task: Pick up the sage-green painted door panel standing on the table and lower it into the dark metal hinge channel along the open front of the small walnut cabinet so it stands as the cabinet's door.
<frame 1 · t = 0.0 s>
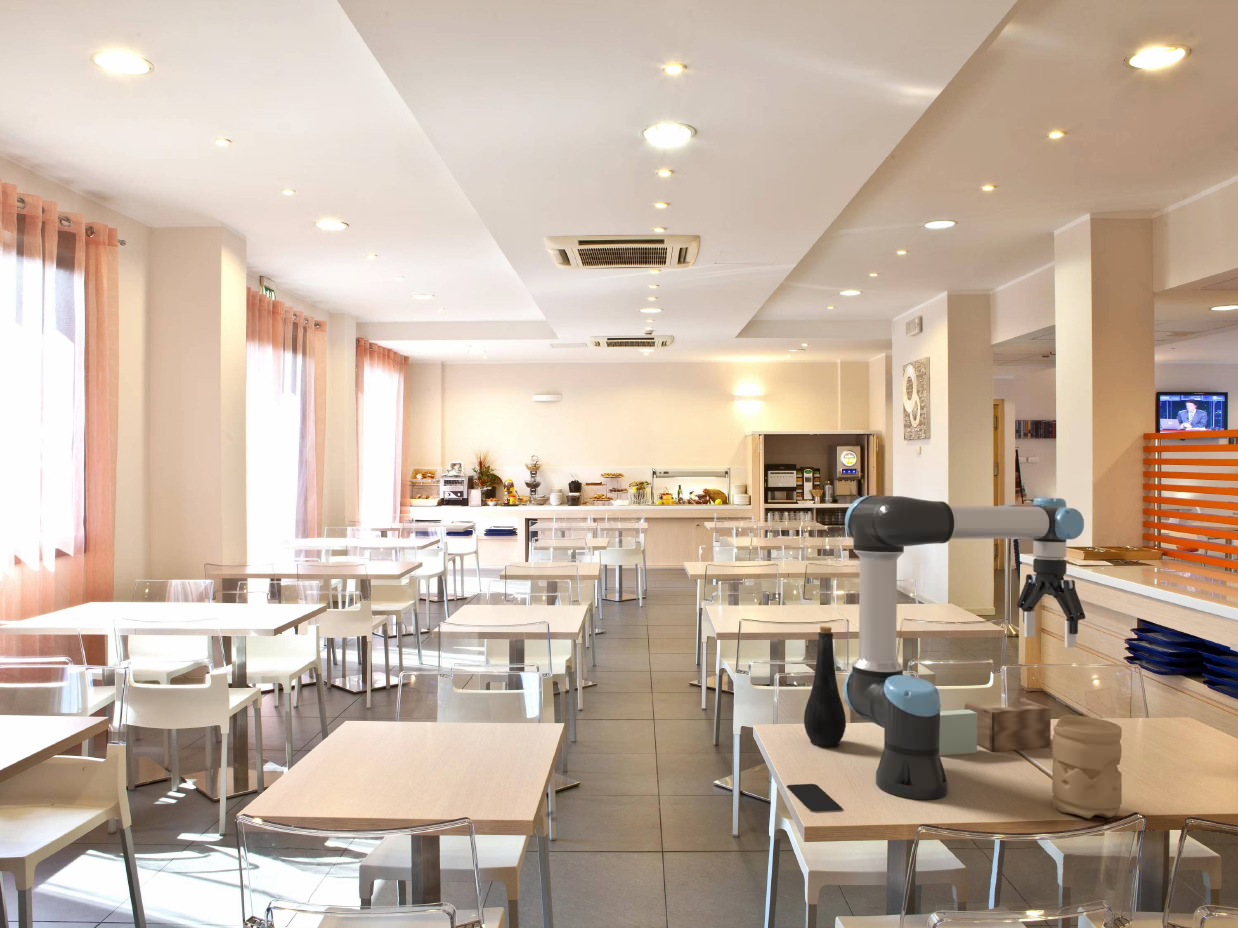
hand: (1049, 641, 209), 28 cm above the table, fingers open, 13 cm apart
door: (952, 752, 208), on the table
cabinet: (1007, 743, 216), on the table
bottle: (824, 743, 213), on the table
container: (1086, 811, 171), on the table
smartphone: (813, 800, 176), on the table
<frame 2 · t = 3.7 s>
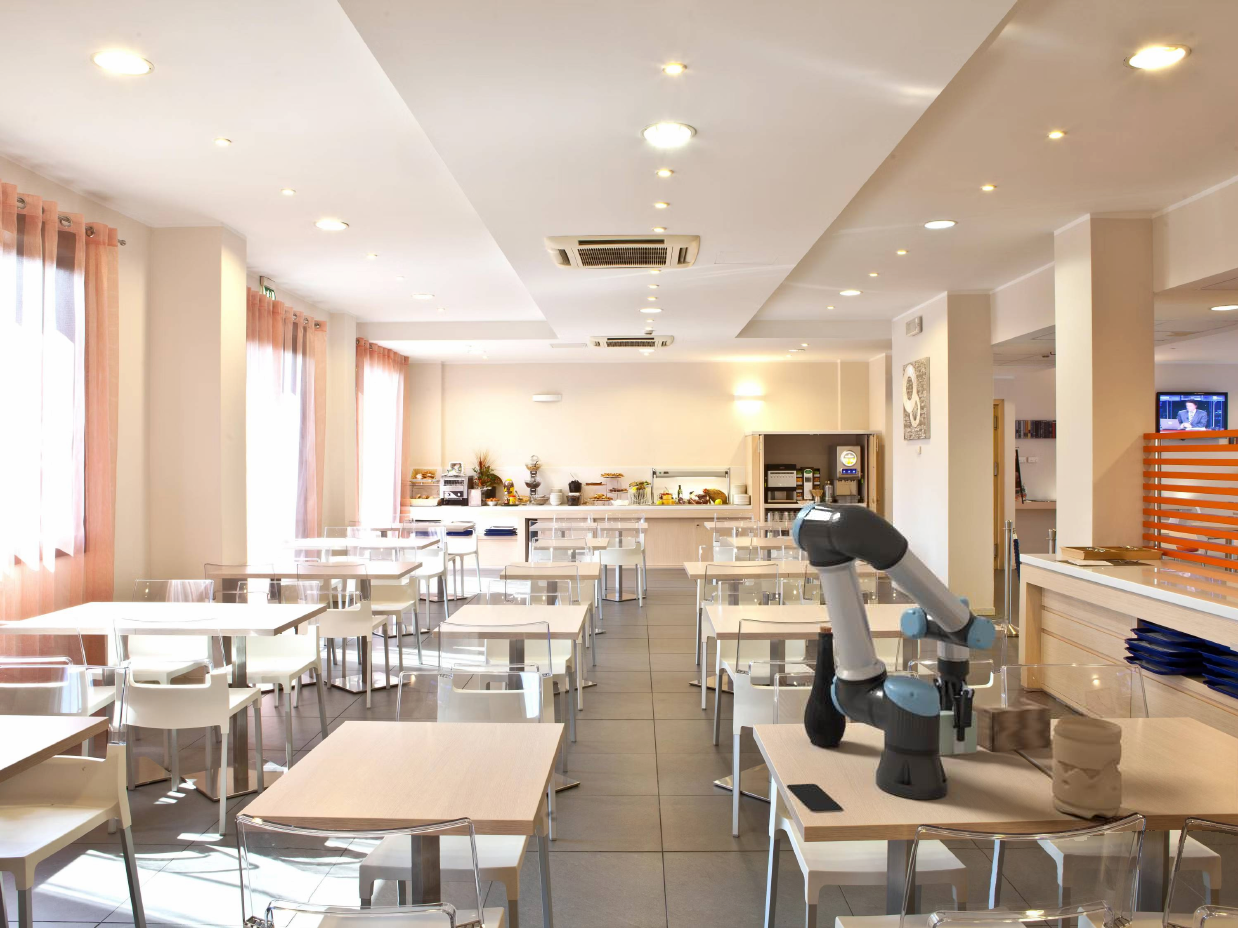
hand: (953, 750, 208), 0 cm above the table, fingers closed on door, 3 cm apart
door: (952, 751, 208), on the table, touching gripper
everything else where it was.
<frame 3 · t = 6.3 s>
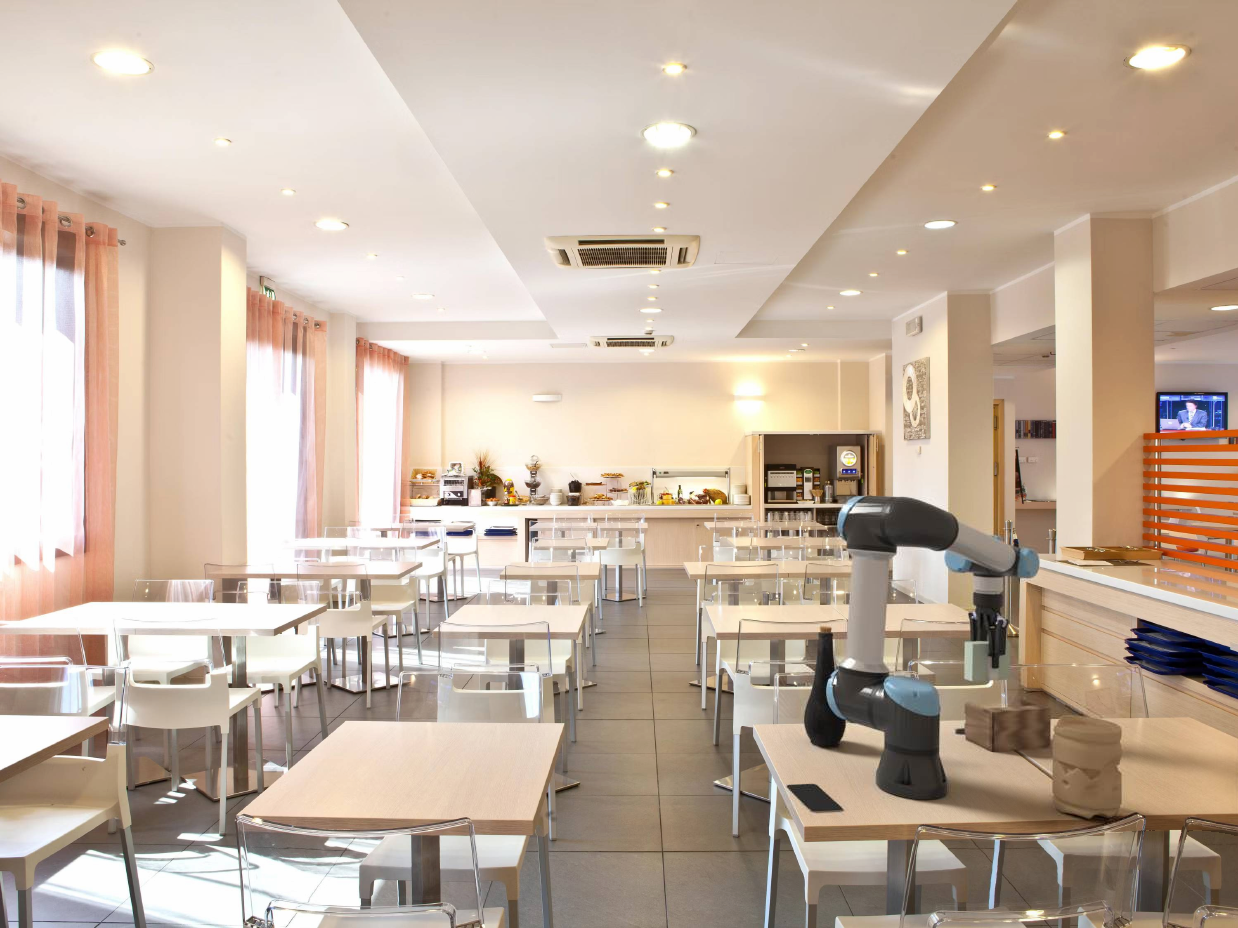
hand: (987, 678, 223), 15 cm above the table, fingers closed on door, 3 cm apart
door: (987, 678, 223), point 15 cm above the table, touching gripper
everything else where it was.
when the fingers open (2 cm above the table, at t = 8.4 s): door drops 2 cm, on the table.
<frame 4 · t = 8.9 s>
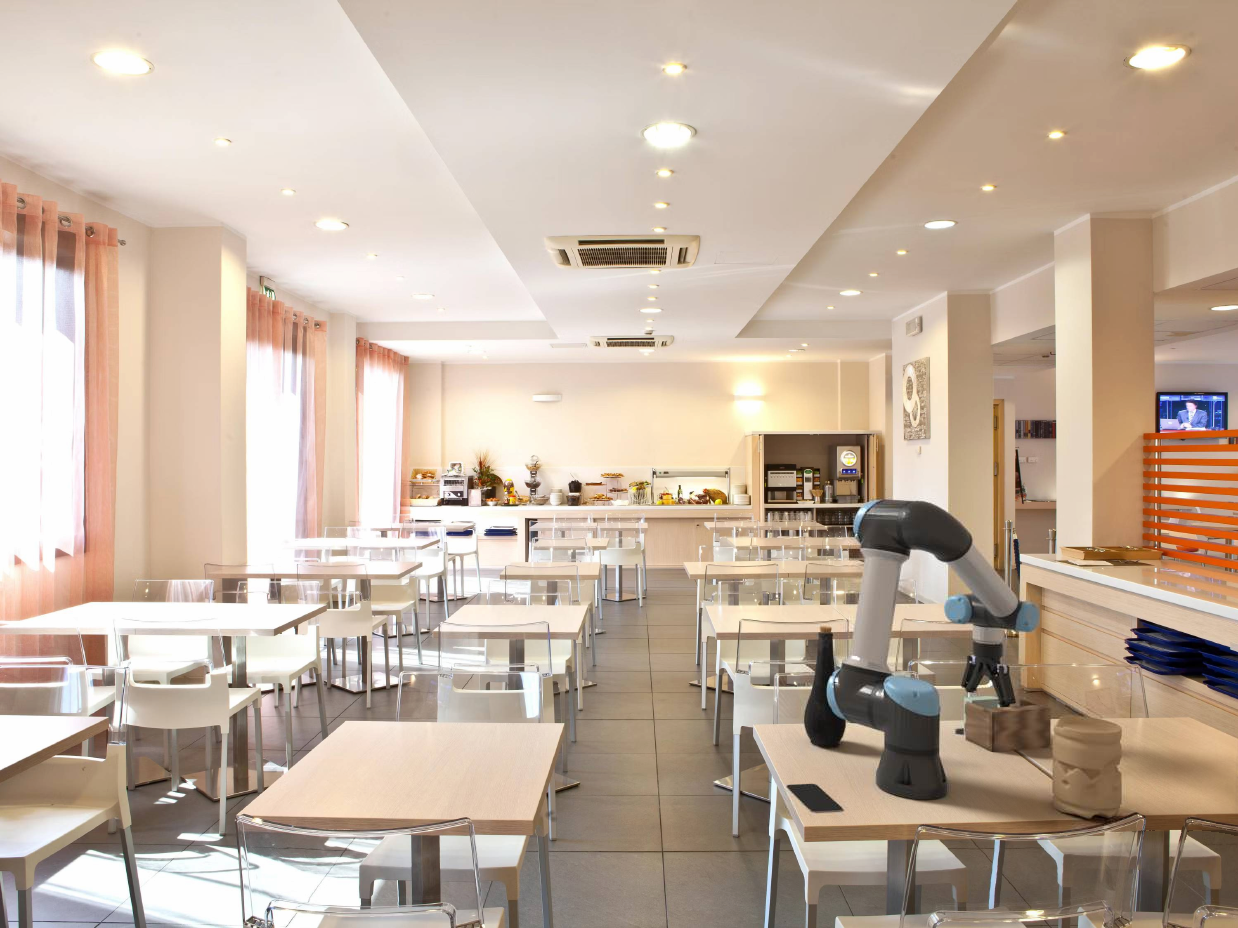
hand: (987, 722, 223), 3 cm above the table, fingers open, 11 cm apart
door: (986, 734, 223), on the table
everything else where it was.
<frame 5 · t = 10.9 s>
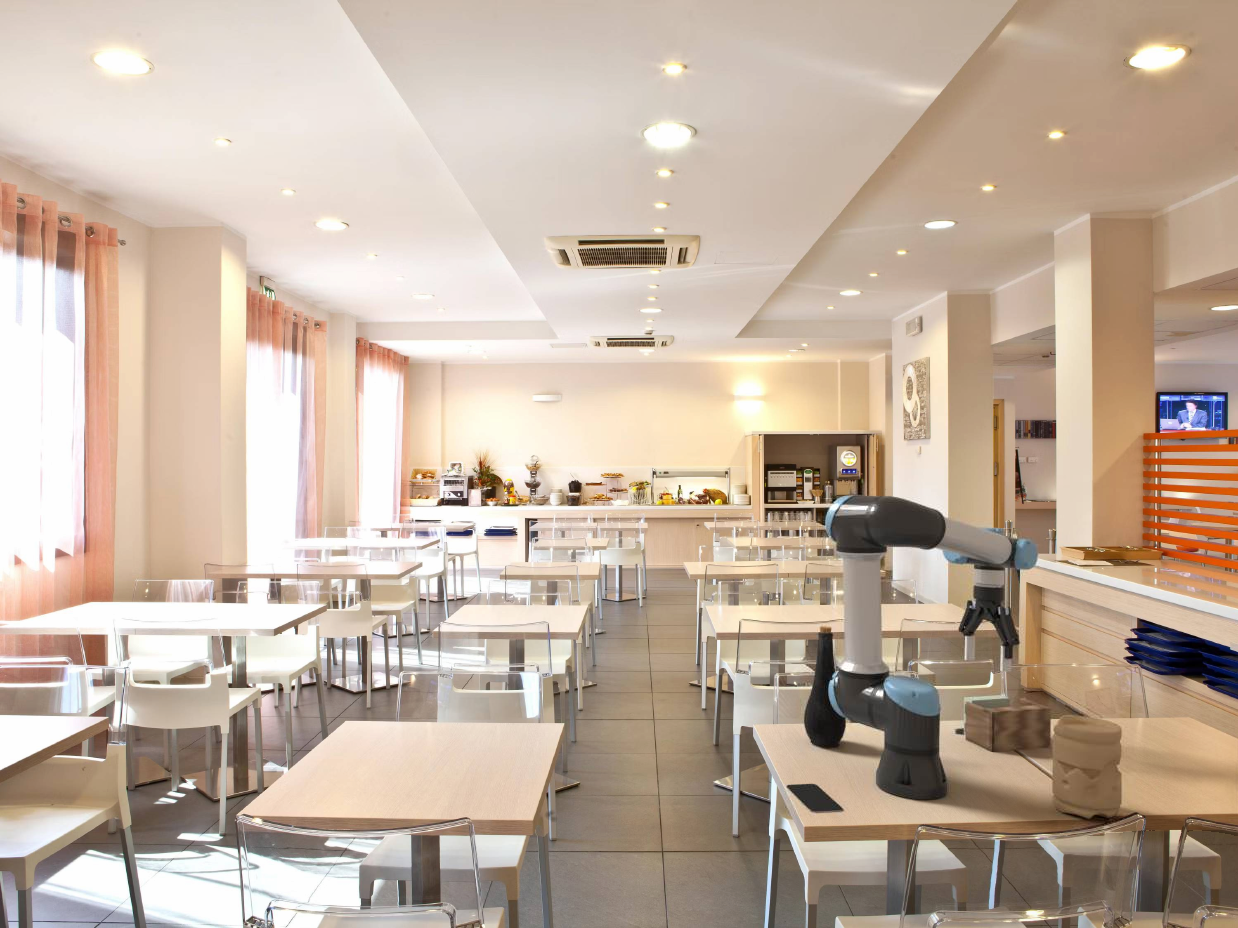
hand: (987, 665, 218), 20 cm above the table, fingers open, 13 cm apart
nothing on the table moved.
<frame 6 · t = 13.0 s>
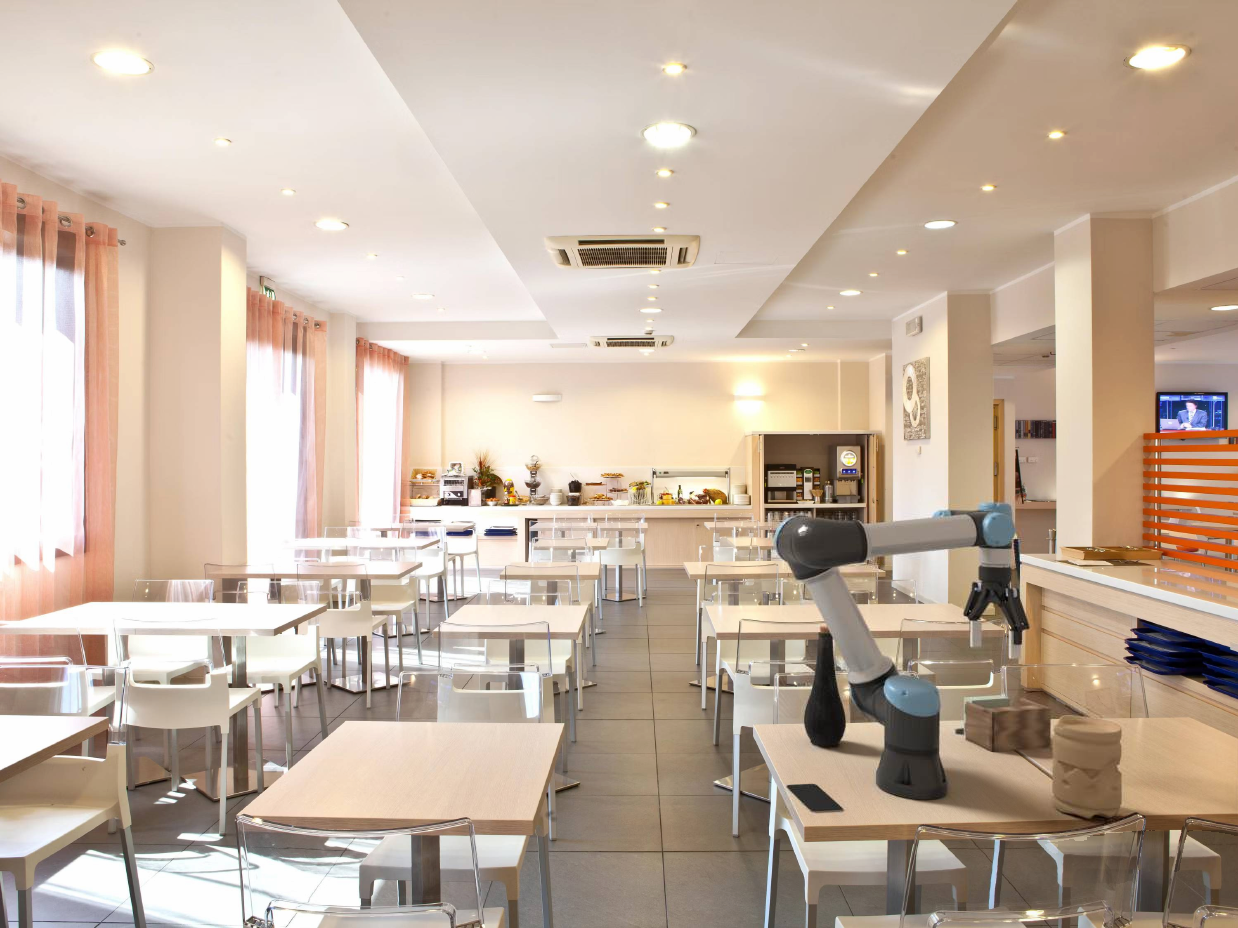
hand: (994, 652, 201), 27 cm above the table, fingers open, 13 cm apart
nothing on the table moved.
at the end: door inside the target area on the cabinet (0.2 cm from its centre), point 0.0 cm above the cabinet's base; door tilted 0°; the gripper is holding nothing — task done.
